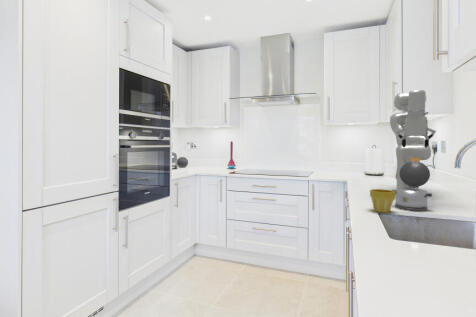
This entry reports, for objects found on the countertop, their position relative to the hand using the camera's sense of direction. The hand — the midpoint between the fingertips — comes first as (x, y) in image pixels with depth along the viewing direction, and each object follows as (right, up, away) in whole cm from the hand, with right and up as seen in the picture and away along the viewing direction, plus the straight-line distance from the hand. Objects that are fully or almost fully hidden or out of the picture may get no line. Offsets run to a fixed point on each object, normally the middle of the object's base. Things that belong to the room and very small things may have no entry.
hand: (414, 147), depth 141 cm
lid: (-3, -13, -4) cm, 14 cm away
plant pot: (-25, -31, -15) cm, 43 cm away
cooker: (-8, -30, -9) cm, 33 cm away
